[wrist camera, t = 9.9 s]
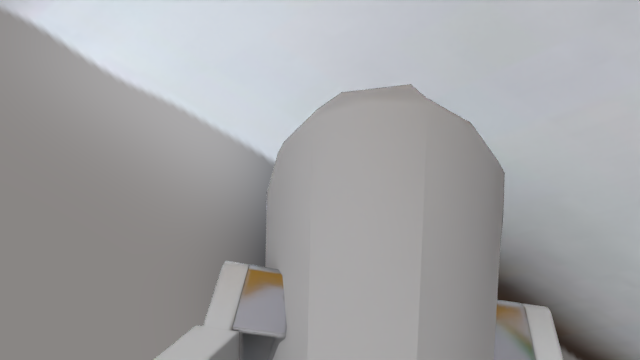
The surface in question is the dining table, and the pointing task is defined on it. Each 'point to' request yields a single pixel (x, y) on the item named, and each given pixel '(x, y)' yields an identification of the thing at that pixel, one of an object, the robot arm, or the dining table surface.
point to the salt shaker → (386, 231)
